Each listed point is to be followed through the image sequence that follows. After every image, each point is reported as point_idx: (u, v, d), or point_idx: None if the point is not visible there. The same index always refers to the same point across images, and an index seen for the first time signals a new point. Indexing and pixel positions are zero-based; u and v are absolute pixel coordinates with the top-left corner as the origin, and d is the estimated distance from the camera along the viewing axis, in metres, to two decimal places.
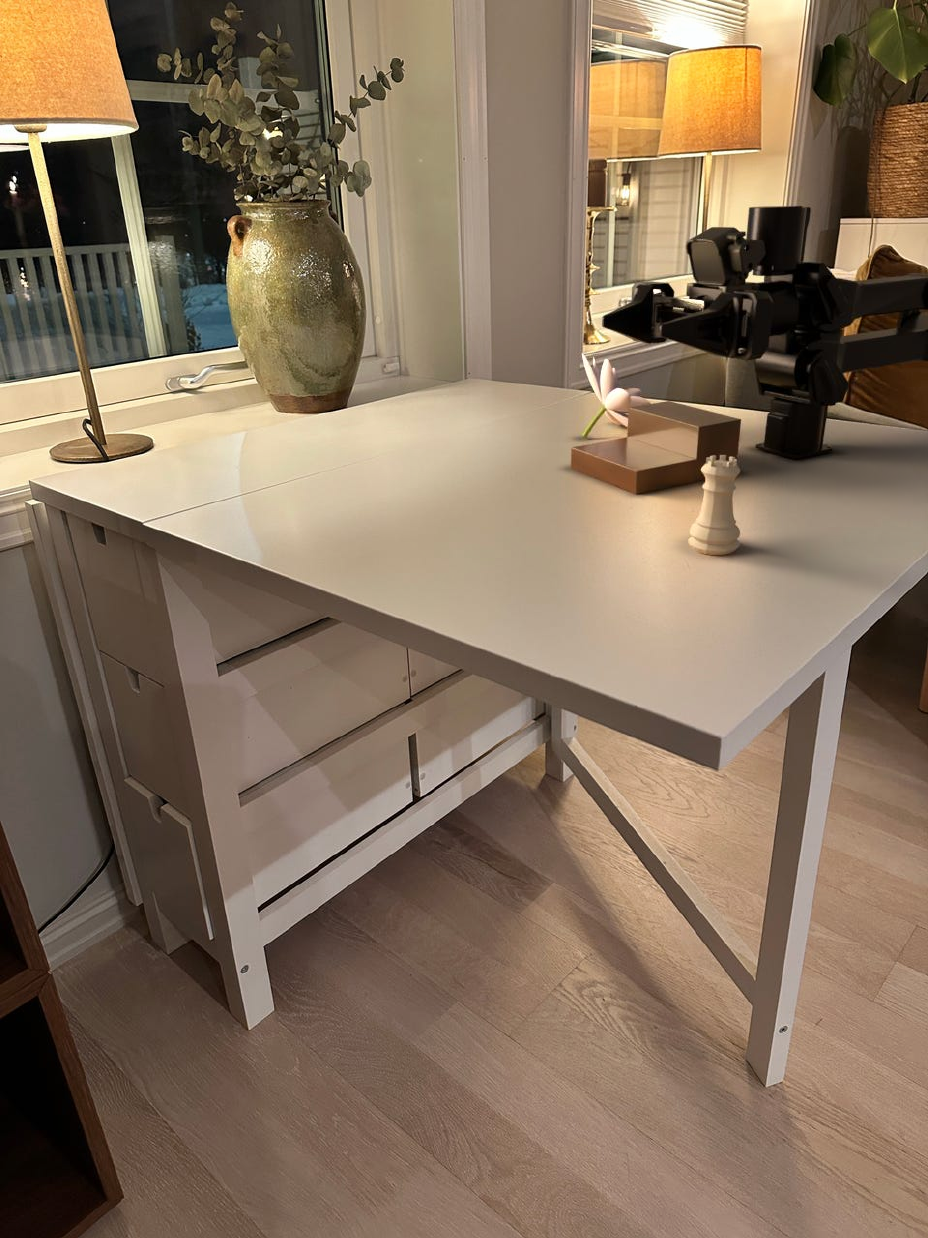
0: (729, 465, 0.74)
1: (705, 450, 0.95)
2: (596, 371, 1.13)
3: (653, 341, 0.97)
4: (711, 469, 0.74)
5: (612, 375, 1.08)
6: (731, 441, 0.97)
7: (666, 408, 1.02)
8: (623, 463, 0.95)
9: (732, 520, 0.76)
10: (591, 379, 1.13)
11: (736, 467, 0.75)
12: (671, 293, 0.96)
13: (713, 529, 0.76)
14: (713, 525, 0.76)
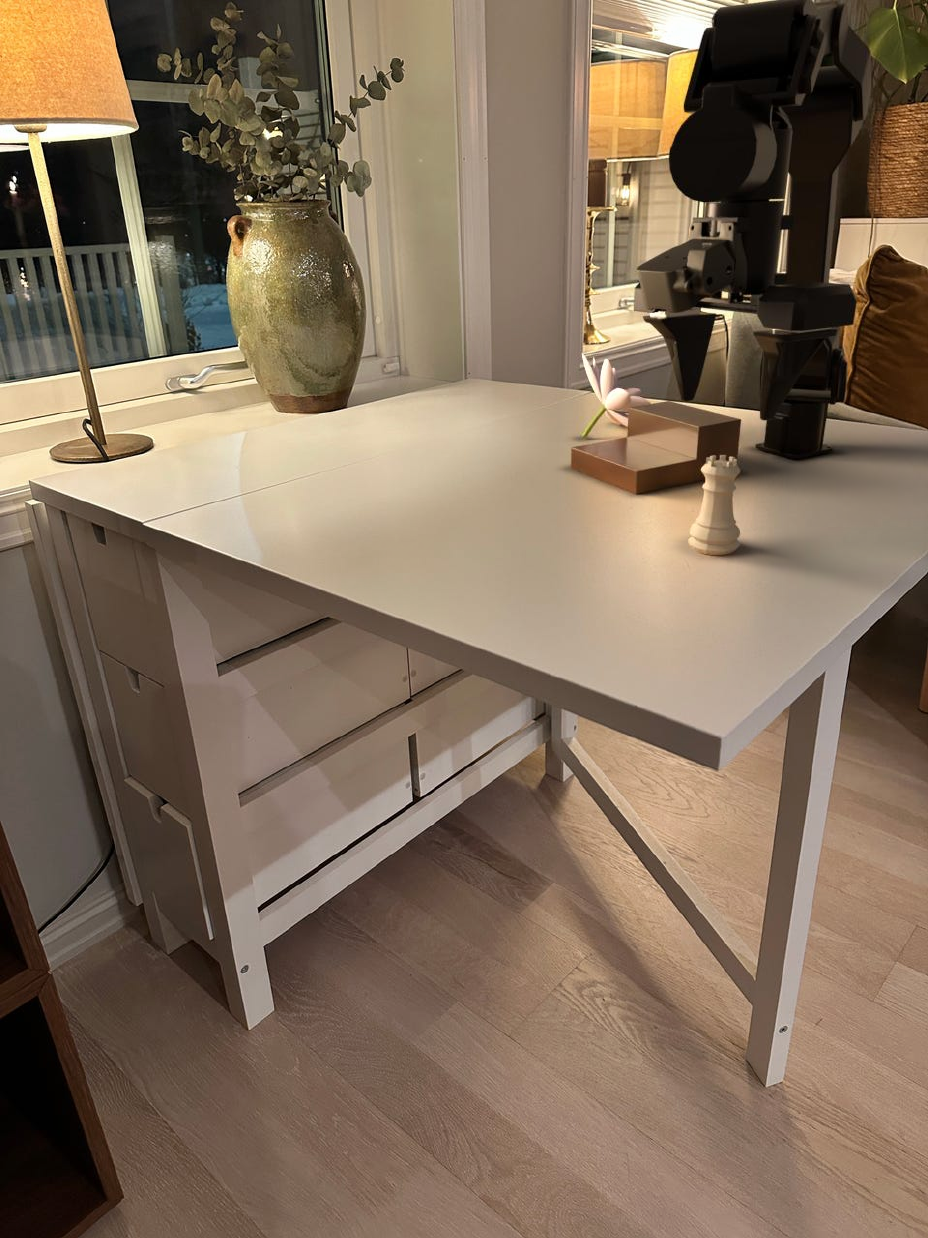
0: (729, 465, 0.74)
1: (705, 450, 0.95)
2: (596, 371, 1.13)
3: None
4: (711, 469, 0.74)
5: (612, 375, 1.08)
6: (731, 441, 0.97)
7: (666, 408, 1.02)
8: (623, 463, 0.95)
9: (732, 520, 0.76)
10: (591, 379, 1.13)
11: (736, 467, 0.75)
12: None
13: (713, 529, 0.76)
14: (713, 525, 0.76)
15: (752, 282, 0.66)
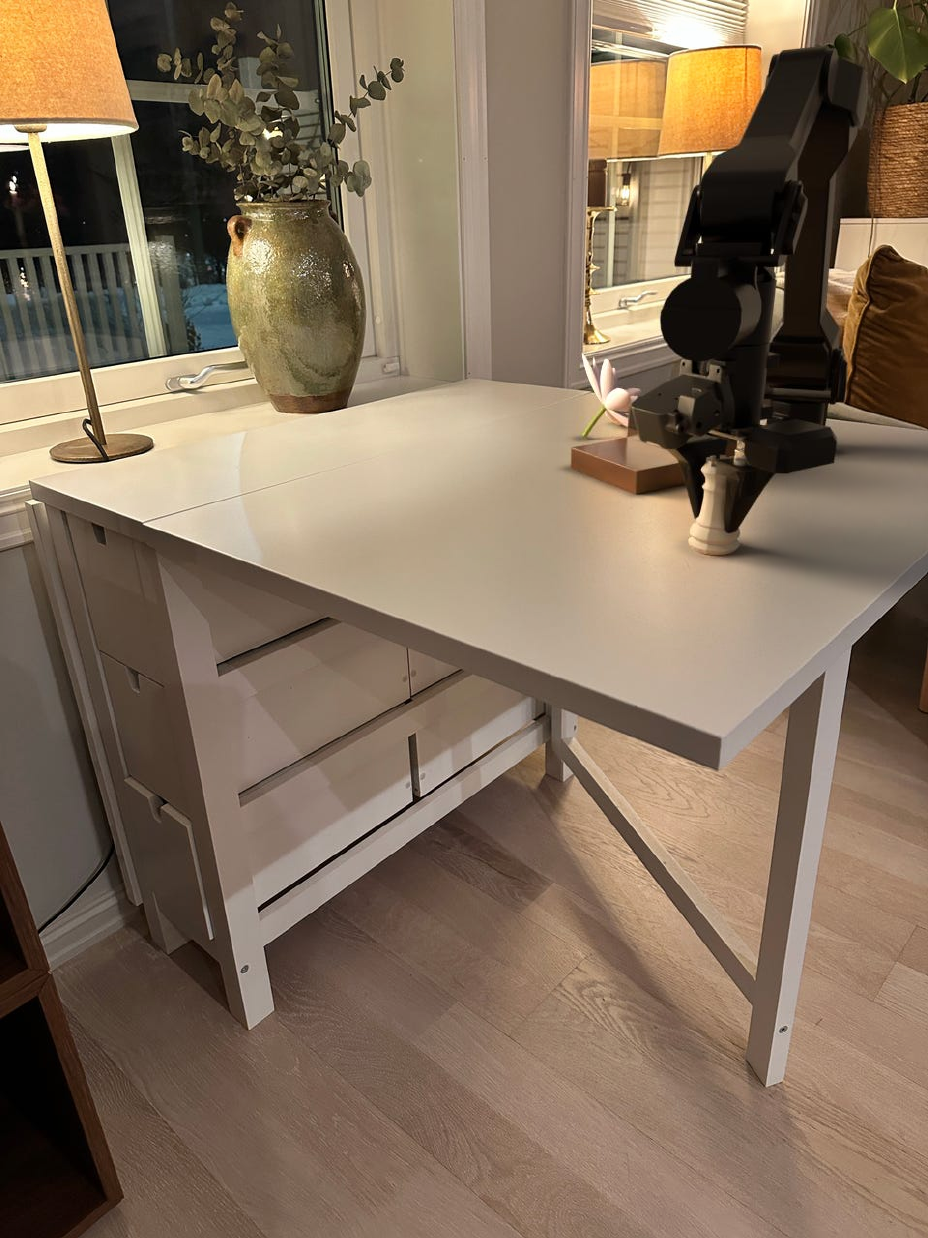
0: None
1: None
2: (596, 371, 1.13)
3: None
4: (711, 469, 0.74)
5: (612, 375, 1.08)
6: None
7: None
8: (623, 463, 0.95)
9: None
10: (591, 379, 1.13)
11: None
12: None
13: (713, 529, 0.76)
14: (713, 525, 0.76)
15: (739, 418, 0.71)
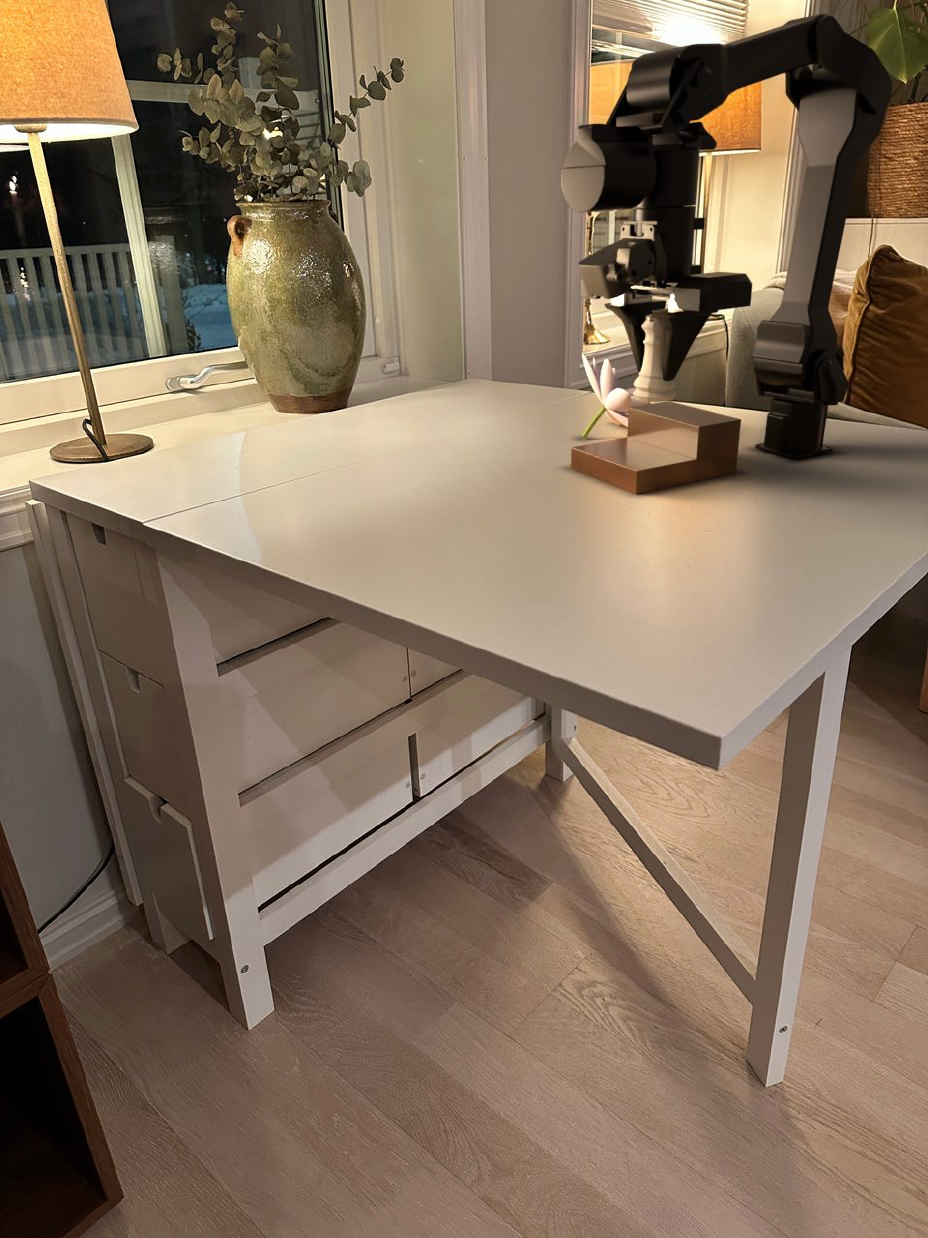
0: None
1: (705, 450, 0.95)
2: (596, 371, 1.13)
3: None
4: (649, 324, 0.86)
5: (612, 375, 1.08)
6: (731, 441, 0.97)
7: (666, 408, 1.02)
8: (623, 463, 0.95)
9: None
10: (591, 379, 1.13)
11: None
12: None
13: (653, 378, 0.88)
14: (653, 374, 0.88)
15: (671, 272, 0.82)
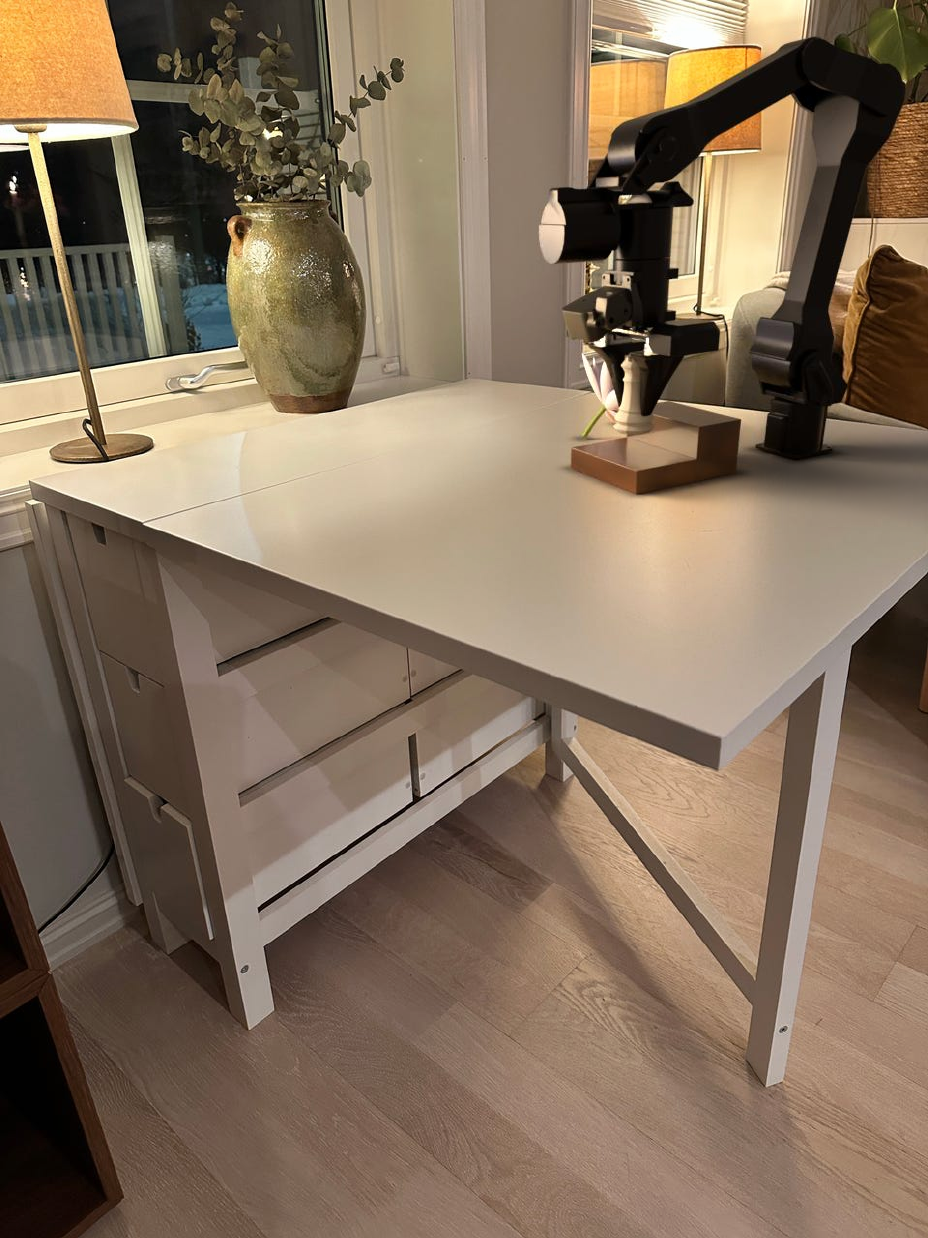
0: None
1: (705, 450, 0.95)
2: (596, 371, 1.13)
3: None
4: (628, 363, 0.93)
5: None
6: (731, 441, 0.97)
7: (666, 408, 1.02)
8: (623, 463, 0.95)
9: None
10: (591, 379, 1.13)
11: None
12: None
13: (631, 413, 0.95)
14: (631, 409, 0.95)
15: (647, 318, 0.89)
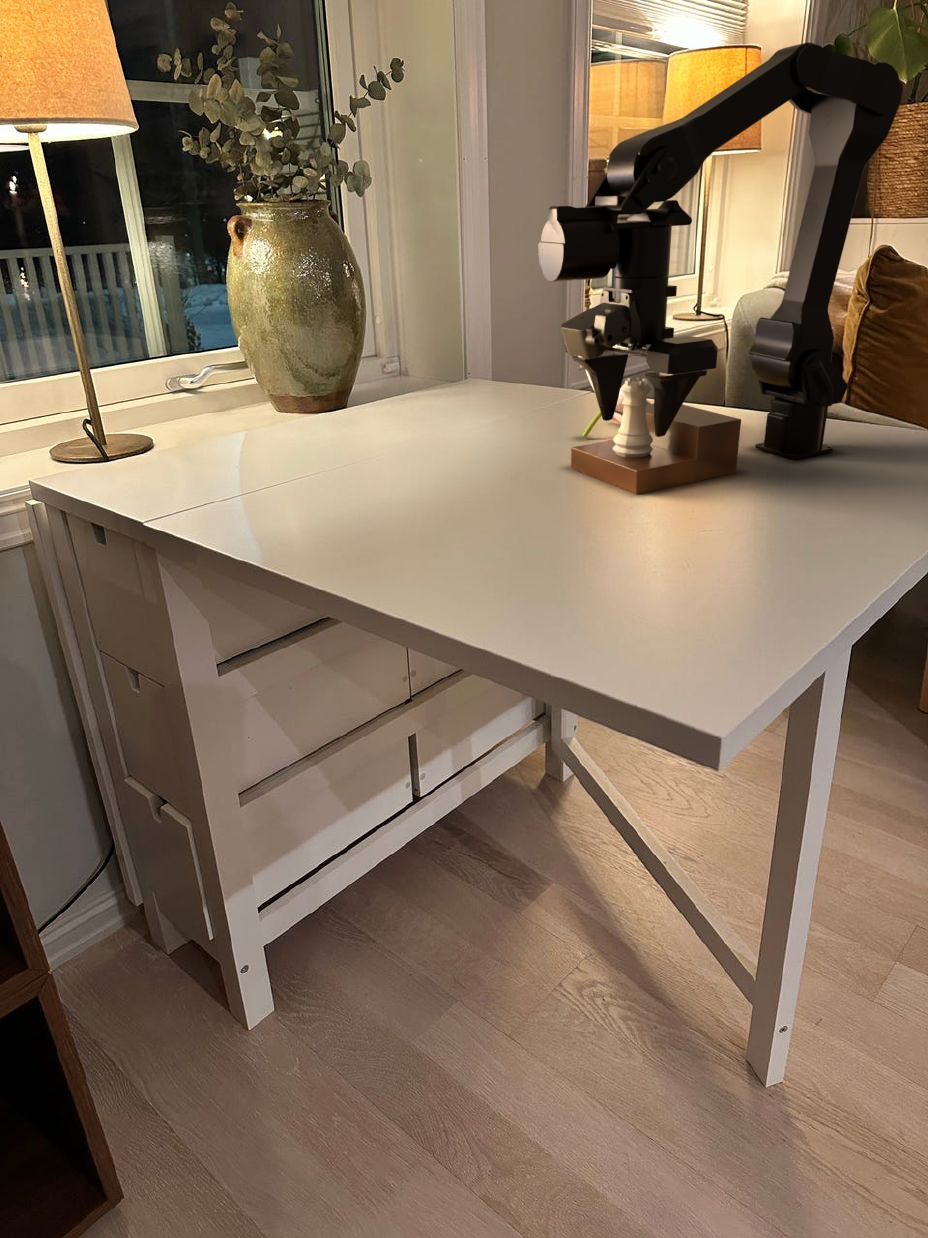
0: (641, 384, 0.94)
1: (705, 450, 0.95)
2: None
3: None
4: (627, 387, 0.94)
5: None
6: (731, 441, 0.97)
7: None
8: (623, 463, 0.95)
9: (646, 430, 0.96)
10: None
11: (647, 386, 0.94)
12: None
13: (630, 436, 0.96)
14: (630, 432, 0.96)
15: (645, 335, 0.90)
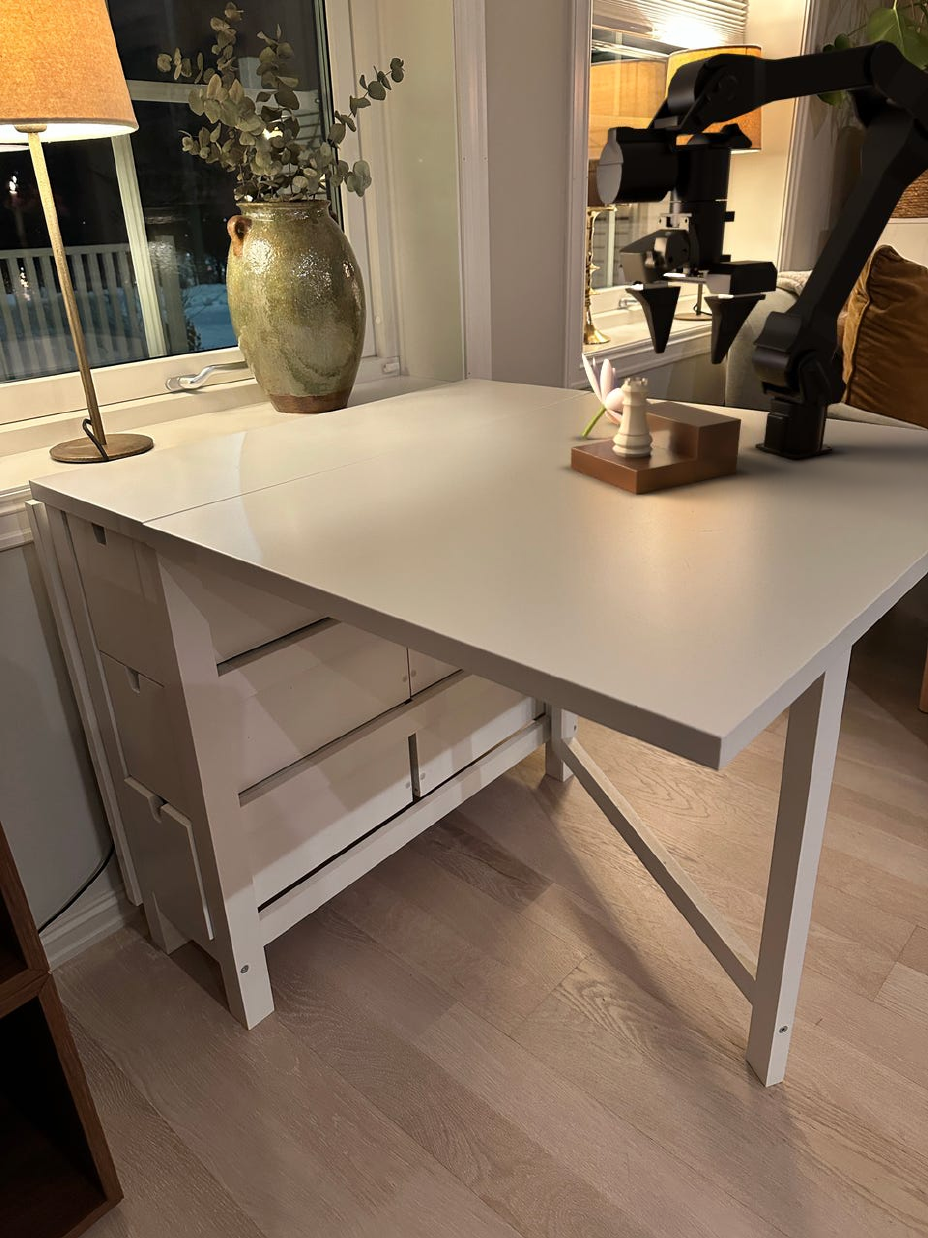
0: (641, 384, 0.94)
1: (705, 450, 0.95)
2: (596, 371, 1.13)
3: None
4: (627, 387, 0.94)
5: (612, 375, 1.08)
6: (731, 441, 0.97)
7: (666, 408, 1.02)
8: (623, 463, 0.95)
9: (646, 430, 0.96)
10: (591, 379, 1.13)
11: (647, 386, 0.94)
12: None
13: (630, 436, 0.96)
14: (630, 432, 0.96)
15: (703, 261, 0.90)
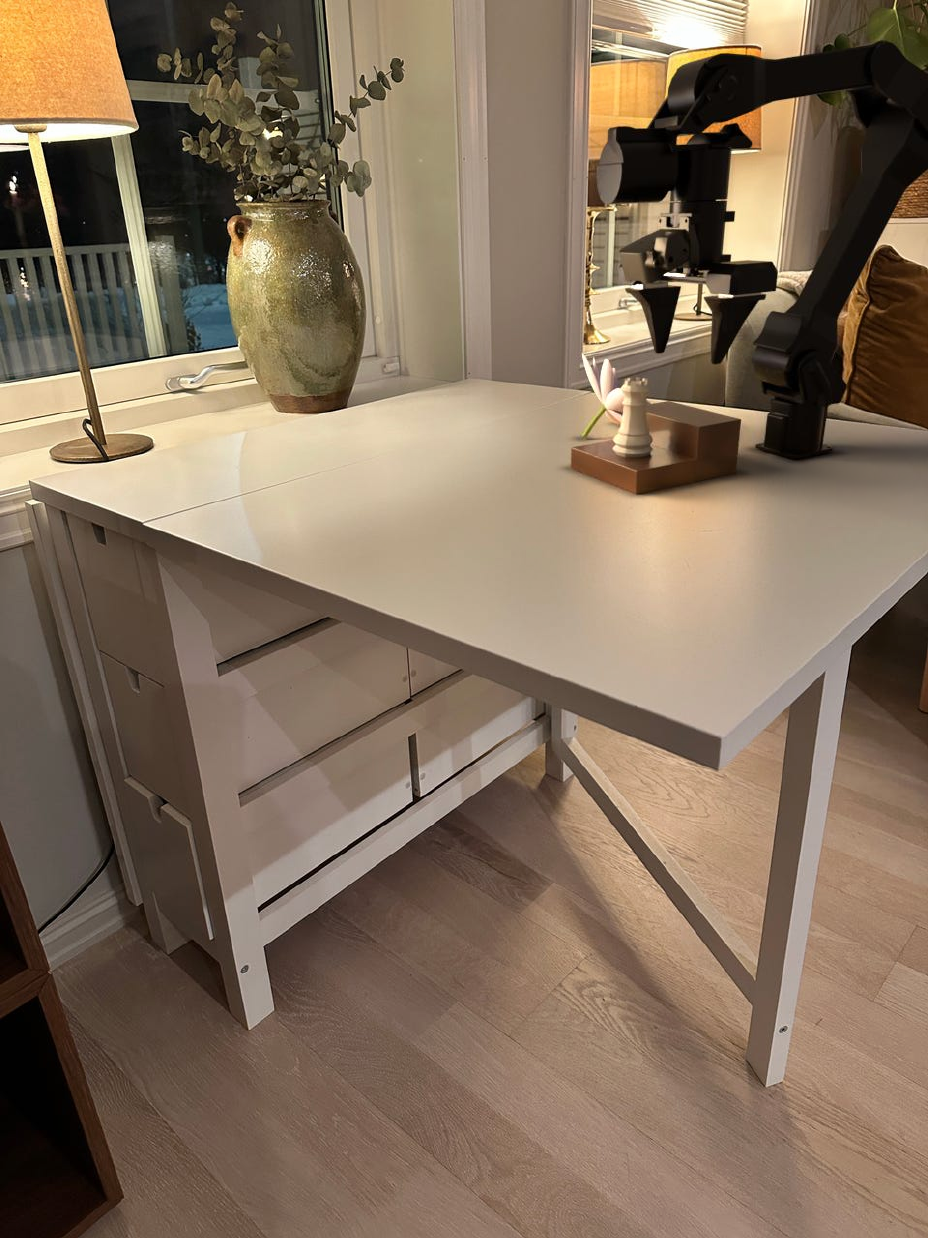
0: (641, 384, 0.94)
1: (705, 450, 0.95)
2: (596, 371, 1.13)
3: None
4: (627, 387, 0.94)
5: (612, 375, 1.08)
6: (731, 441, 0.97)
7: (666, 408, 1.02)
8: (623, 463, 0.95)
9: (646, 430, 0.96)
10: (591, 379, 1.13)
11: (647, 386, 0.94)
12: None
13: (630, 436, 0.96)
14: (630, 432, 0.96)
15: (703, 261, 0.90)
